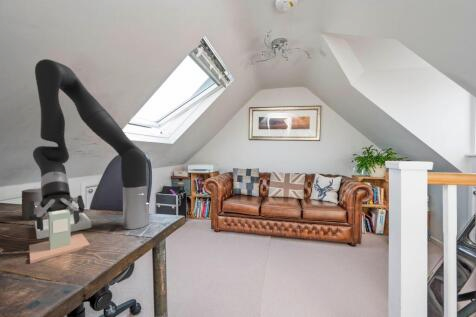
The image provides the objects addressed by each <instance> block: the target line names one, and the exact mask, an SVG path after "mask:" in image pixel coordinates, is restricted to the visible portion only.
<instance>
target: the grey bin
mask: <svg viewBox="0 0 476 317" xmlns="http://www.w3.org/2000/svg"><path fill="white" fill-rule="evenodd" d="M79 216H80V220H79V222H77V224H74V217H73V214H70V231H71V233H72V232H77V231H81V230H85V229H91V228H92V219H90V218H89V217H88V216H87V215H86V214H85V212H80V213H79ZM34 222H35V225H34V226H35V234H36V239H37V240H40V239H44V238H45V239H46V238H49V222H48V218H47V219H43V230H42V231H40V229H37V223H36V221H35V220H34Z"/></svg>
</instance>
